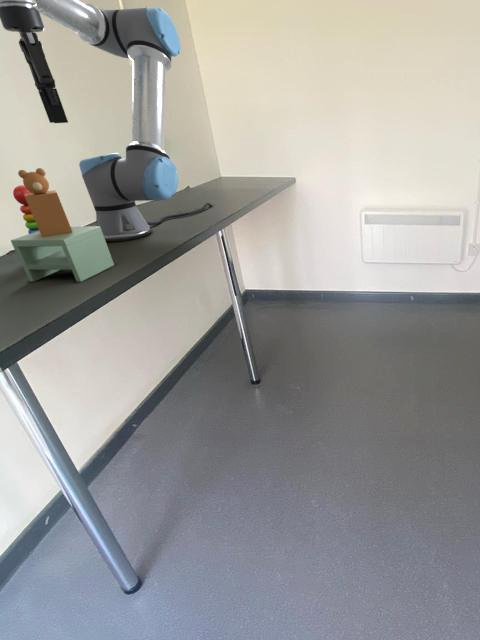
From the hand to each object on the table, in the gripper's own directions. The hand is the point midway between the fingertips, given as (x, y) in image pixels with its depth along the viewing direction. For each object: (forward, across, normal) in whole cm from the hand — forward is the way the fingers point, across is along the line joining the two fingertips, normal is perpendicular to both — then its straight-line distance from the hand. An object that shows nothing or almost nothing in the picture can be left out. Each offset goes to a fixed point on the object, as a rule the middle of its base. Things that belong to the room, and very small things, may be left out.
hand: (58, 122), depth 113 cm
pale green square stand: (+33, +5, -9) cm, 34 cm away
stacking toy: (+33, -18, -12) cm, 39 cm away
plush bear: (+23, +5, -9) cm, 25 cm away
